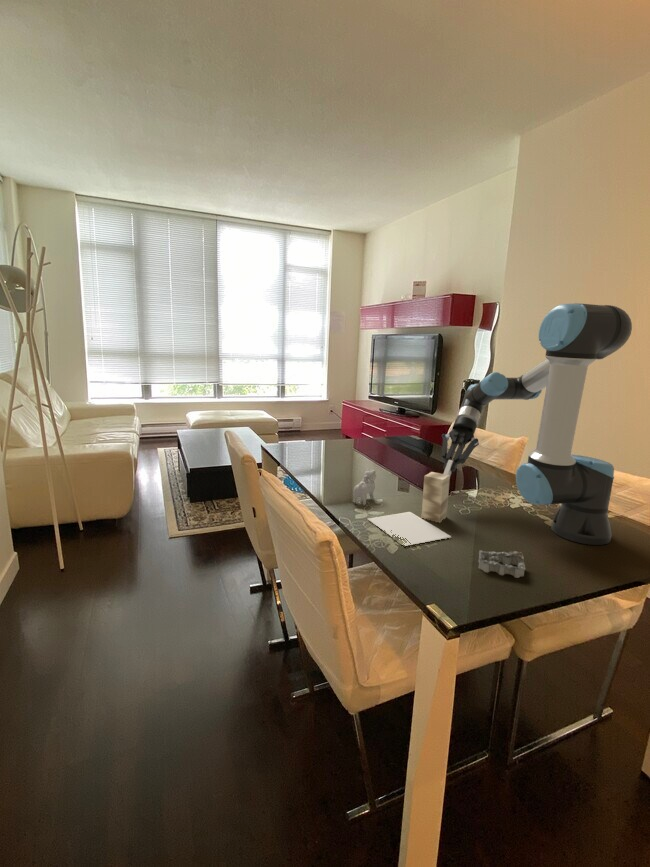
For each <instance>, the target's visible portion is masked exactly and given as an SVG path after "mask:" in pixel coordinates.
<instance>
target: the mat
mask: <svg viewBox="0 0 650 867" xmlns="http://www.w3.org/2000/svg"><path fill="white" fill-rule="evenodd" d="M367 519H368V520H369V521H371V522H372V523H373V524H375V525H376V526H378V527H379V528H380V529H382V530H383V531H384V530H385V531H386V533H387V534H389V535H390V536H391V537H392V535H393V534H394V535H395V534H396V535H395V536H396V537H397V536H398V535H399V536H398V537H399V538H400V537H401V539H403V538H404V539H405V538H406V539H407V540H408V541H409V542H410V543H411V544H410V543H409V542H408V541H407V540H406V539H405V540H406V541H407V543H405V542H404V541H403V540H402V541H403V542H404V543H405V544H404V543H403V544H404V545H405V546H408V545H413V544H419V543H425V542H430V541H435V540H440V541H442V540H441V539H445V540H448V539H447V538H449V539H452V535H449V534H448V533H446V532H445V531H443V530H441V529H440V528H438V527H437V526H435V525H433V524H432V523H430V522H428V521H427V520H426V519H422V518H421V517H420V516H418V515H416V514H414V513H413V512H411V511H406V512H401V513H399V512H398V513H394V514H387V515H382V516H376V517H375V516H374V517H371V518H370V517H369V518H367ZM368 520H367V521H368ZM369 521H368V522H369ZM372 523H371V524H372ZM373 524H372V525H373ZM375 525H374V526H375ZM376 526H375V527H376ZM379 528H378V529H379ZM380 529H379V530H380ZM391 530H392V531H391ZM383 531H382V532H383ZM390 531H391V532H392V533H391V532H390ZM387 534H386V535H387ZM395 536H394V537H395ZM391 537H390V538H391ZM402 537H403V538H402ZM399 540H400V539H399ZM435 542H436V541H435ZM430 543H431V542H430ZM403 544H402V545H403ZM425 544H426V543H425Z"/></svg>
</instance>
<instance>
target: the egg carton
mask: <svg viewBox="0 0 650 867" xmlns="http://www.w3.org/2000/svg"><path fill="white" fill-rule="evenodd" d="M514 565H515V566H514ZM478 569H479V570H481V571H483V572H484V573H487V574H489V573H490V572H495V573H497V574H498V575H500V576H504V575H511V576H513V577H514V578H516V579H517V578H518V579H519V578H520V577H524V576H525V570H526V564H525V560H524V553H523V551H516V550H509V552H506V551H502V552H501V551H499V552H496V551H494V550H493V551H484V550H481V549H479V550H478Z"/></svg>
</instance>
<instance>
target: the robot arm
mask: <svg viewBox="0 0 650 867" xmlns="http://www.w3.org/2000/svg"><path fill="white" fill-rule="evenodd" d="M632 329H633V324H632V320H631V317H630V315H629V314H628V313H627V312H626V311H625V310H624V309H622V308H620V307H618V306H615V305H609V304H608V305H607V304H605V305H604V304H590V303H580V302H579V303H577V302H574V303H561V304H559V305H557V306H555V307H553V308H552V309H551V310H549V312H548V313H547V314H546V315H545V316H544V318H543V320H542V322H541V324H540V326H539V329H538V341H539V342H540V343H539V344H540V346H541V347H542V348H543V349H545V358H546V359H545V360H544V361H541V362H540V363H538V364H537V365H536V366H534V367H532V368H531V369H530V370H528V371H527V372H525V373H523V374H522V375H520V376H518V377H506V376H505V375H504V374H503V373H500V372H498V371H494V372H491V373H490V374H488V375H487V376H485V377H484V378H483V379H482V380H480V382H478V383H474V384H470V385H469V386H468V388H467V390H466V391H465V394H464V396H463V399H462V402H461V405H460V407H459V410H458V412H457V415H456V418H455V420H454V423H453V425H452V428H451V429H450V431H448V432H449V433H442V434H441V437H442V447H441V459H442V461H444V463H443V467H442V468H443V470H444V471H443V473H442V474H446V475H450V476H451V475H452V474H453V473H455V472H456V470H457V467H458V465H459V464H461V465H463V464H465V463H466V461H467V459H468V458H469V457H470V456H471V454H472V452H473V451H474V449H475V448H476V447H478V446H479V444H480V442H479V439H478V438H475V436H474V434H475V433H476V430H477V427H478V426H477V425H478V424H479V421H480V418H481V415H482V412H483V409H484V408H485V407H486V406H487V405H489V404H490V403H491V402H492V401H495V400H525V401H528V400H535V399H537V398H539V396H540V394H541V393H542V391H543V389H545V388H546V389H545V395H544V399H543V406H542V411H541V416H540V417H541V418H540V424H539V429H538V436H537V440H536V446H535V448H534V450H532V451H531V452H529V453H528V458H527V462H525V463H523V464H520V466H519V467H517V469H516V472H515V483H516V488H517V490H518V491H519V494H520V495H521V496H522V498H523V499H524V500H525V501H526V502H528V503H530V504H532V505H534V506H537V505H538V506H550V505H558V504H560V507H559V508H558V510H557V511H556V514H555V515H554V517H553V518H552V521H551V531H552V532H553V533H554V534H555V535H557V536H559V537H560V538H563V539H565V540H568V541H571V542H575V543H579V544H583V545H589V546H590V545H592V546H600V545H601V546H602V545H606V544H607V545H608V544H609V543H610V542H611V540H612V529H611V524H610V521H609V520H610V519H609V516H608V512H609V507H610V500H611V495H612V488H613V483H614V479H615V475H614V474H615V467H614V465H613V464H612V463H611V462H608V461H606V460H603V459H599V458H596V457H591V456H586V455H580V454H572V449H573V444H574V440H575V435H576V430H577V423H578V419H579V414H580V409H581V405H582V404H581V403H582V398H583V392H584V388H585V383H586V377H587V372H588V367H589V366H590V365H591V364H592V363H594V362H595V361H597V360H603V359H605V358H607V357H608V356H610V355H612V354H614V353H615V352H617V351H618V350H620V349H621V348H622V347H623V346H625V344H626V343H627V341H628V340H629V338H630V337H631V334H632ZM450 440H451V443H450V447H449V448H448V446H449V445H448V444H449V443H448V442H449V441H450ZM466 446H467V447H466ZM465 447H466V448H465ZM452 472H453V473H452Z"/></svg>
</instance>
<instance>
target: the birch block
mask: <svg viewBox="0 0 650 867" xmlns="http://www.w3.org/2000/svg"><path fill="white" fill-rule="evenodd" d="M450 479H451V475H446V474H443V473H440V472H434V471H430V472H429V473H427V474H425V475H424V476H423V491H422V504H421V505H422V506H421V515H420V516H421V517H420V518H421V519H422V518H424V519H423V520H426V519H427V520H426V521H430V520H431V522H434V521H435V522H434V523H437V522H439V523H438V524H440V523H442V522H443V521H444V520H445V519H446V518H447V514H448V505H449V504H448V502H449V490H450V481H451V480H450ZM443 519H444V520H443ZM442 520H443V521H442Z"/></svg>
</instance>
